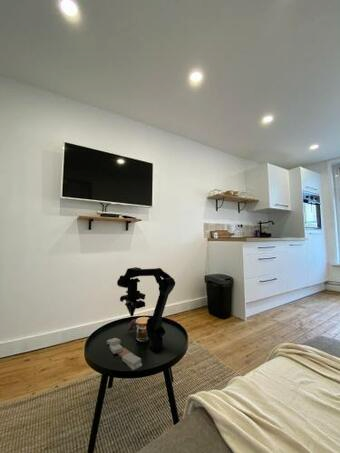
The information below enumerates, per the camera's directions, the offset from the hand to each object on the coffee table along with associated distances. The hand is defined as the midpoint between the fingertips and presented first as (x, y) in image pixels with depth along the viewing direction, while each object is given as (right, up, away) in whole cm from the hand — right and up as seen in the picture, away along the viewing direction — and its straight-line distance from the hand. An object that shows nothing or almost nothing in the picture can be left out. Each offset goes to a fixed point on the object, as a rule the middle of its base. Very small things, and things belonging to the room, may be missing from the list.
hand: (131, 316), depth 120 cm
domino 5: (+2, -12, -21) cm, 24 cm away
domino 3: (-4, -12, -14) cm, 19 cm away
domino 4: (+1, -11, -21) cm, 23 cm away
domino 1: (-11, -12, -5) cm, 17 cm away
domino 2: (-8, -12, -10) cm, 17 cm away
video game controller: (+1, -14, +11) cm, 18 cm away
